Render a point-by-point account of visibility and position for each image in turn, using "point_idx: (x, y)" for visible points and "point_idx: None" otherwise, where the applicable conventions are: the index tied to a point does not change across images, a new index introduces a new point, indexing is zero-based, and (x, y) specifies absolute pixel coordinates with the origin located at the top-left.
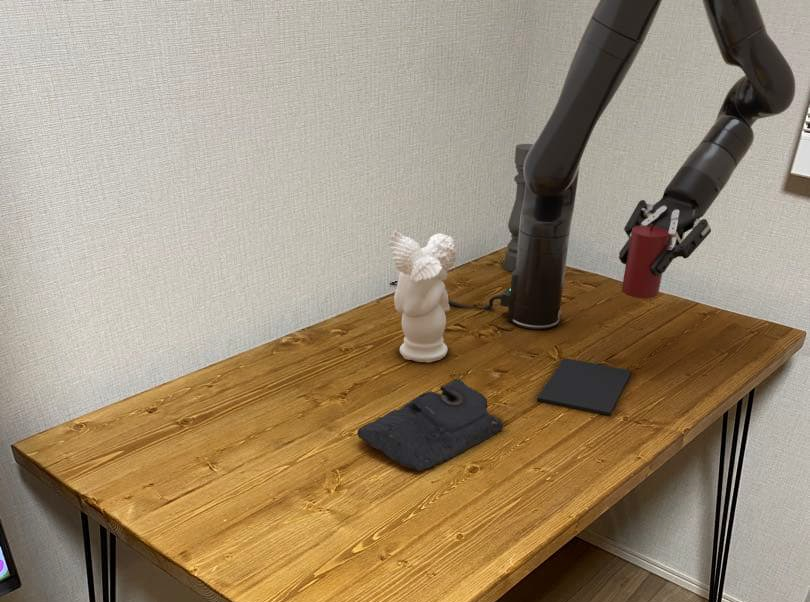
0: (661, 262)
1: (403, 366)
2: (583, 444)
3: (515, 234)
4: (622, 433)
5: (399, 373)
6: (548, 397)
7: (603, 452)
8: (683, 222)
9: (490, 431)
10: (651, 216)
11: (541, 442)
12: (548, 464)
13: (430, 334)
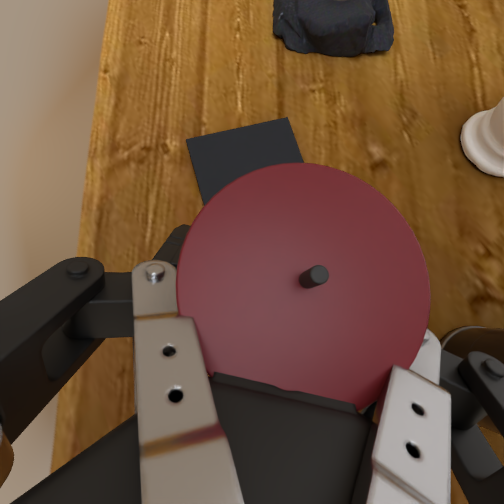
0: (181, 239)
1: (475, 98)
2: (177, 61)
3: None
4: (150, 111)
5: (463, 80)
6: (276, 125)
7: (148, 59)
8: (90, 461)
9: (276, 11)
10: (434, 454)
11: (220, 39)
12: (187, 5)
13: (502, 99)
